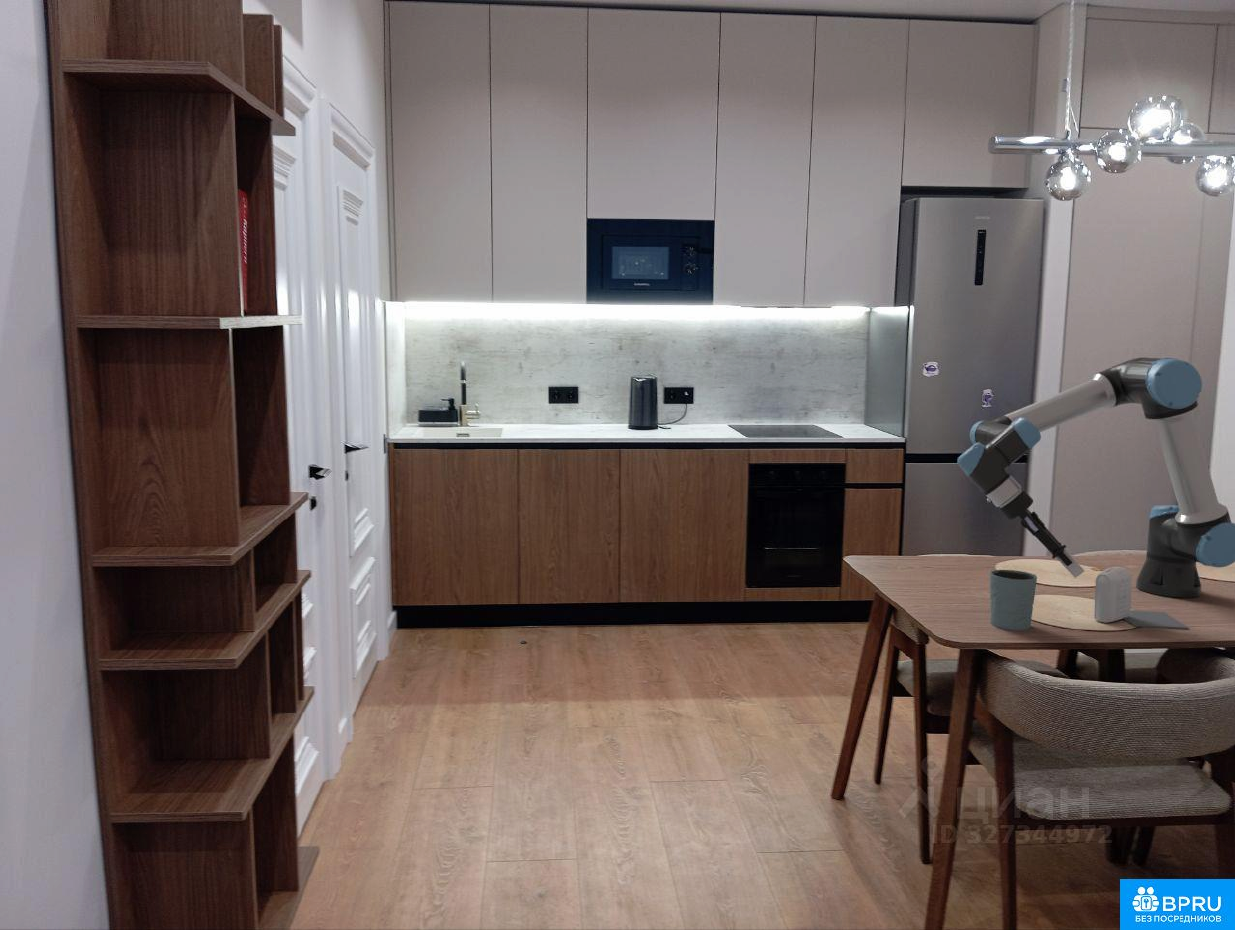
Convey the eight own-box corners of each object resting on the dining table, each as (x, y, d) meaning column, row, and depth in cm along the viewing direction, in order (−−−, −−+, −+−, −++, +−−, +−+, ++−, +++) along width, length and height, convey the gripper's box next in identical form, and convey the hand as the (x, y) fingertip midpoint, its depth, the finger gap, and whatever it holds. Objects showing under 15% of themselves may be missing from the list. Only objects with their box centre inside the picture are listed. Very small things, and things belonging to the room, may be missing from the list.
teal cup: (1009, 633, 219) (1013, 581, 218) (976, 620, 229) (980, 570, 227) (1043, 628, 223) (1047, 577, 222) (1009, 616, 233) (1013, 567, 231)
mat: (1164, 613, 238) (1164, 612, 238) (1188, 629, 226) (1189, 627, 226) (1112, 610, 240) (1112, 609, 240) (1134, 626, 227) (1134, 624, 227)
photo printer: (1115, 612, 237) (1117, 562, 235) (1133, 616, 233) (1135, 565, 232) (1091, 620, 231) (1092, 569, 230) (1108, 624, 227) (1110, 572, 226)
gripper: (997, 504, 244) (1064, 577, 241) (997, 512, 232) (1068, 589, 229) (1022, 485, 242) (1090, 558, 238) (1023, 492, 230) (1095, 570, 226)
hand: (1079, 573), depth 233 cm, fingers closed
